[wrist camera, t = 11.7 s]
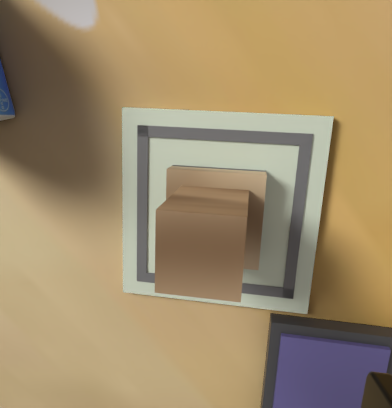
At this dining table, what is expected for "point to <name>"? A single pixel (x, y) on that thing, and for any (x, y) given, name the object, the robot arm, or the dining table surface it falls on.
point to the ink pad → (321, 362)
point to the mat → (237, 159)
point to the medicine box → (5, 98)
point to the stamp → (208, 231)
